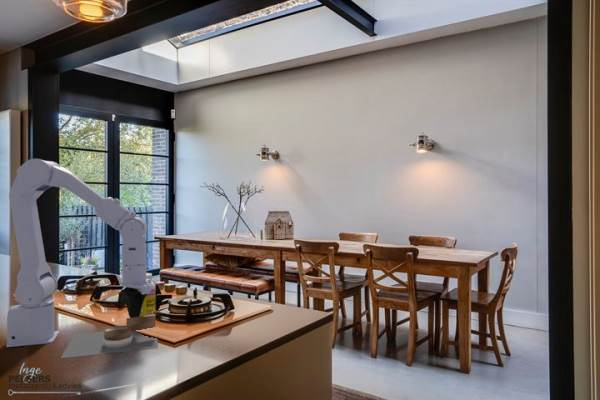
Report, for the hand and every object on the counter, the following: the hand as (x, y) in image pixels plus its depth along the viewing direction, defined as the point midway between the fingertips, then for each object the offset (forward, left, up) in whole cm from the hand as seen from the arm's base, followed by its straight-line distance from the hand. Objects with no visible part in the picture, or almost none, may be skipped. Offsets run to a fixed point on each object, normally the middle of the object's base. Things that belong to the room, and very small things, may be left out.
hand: (134, 317), depth 108 cm
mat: (-4, -4, -4) cm, 8 cm away
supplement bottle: (+2, +13, -5) cm, 13 cm away
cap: (-1, -6, -2) cm, 6 cm away
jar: (-3, -6, -4) cm, 8 cm away
